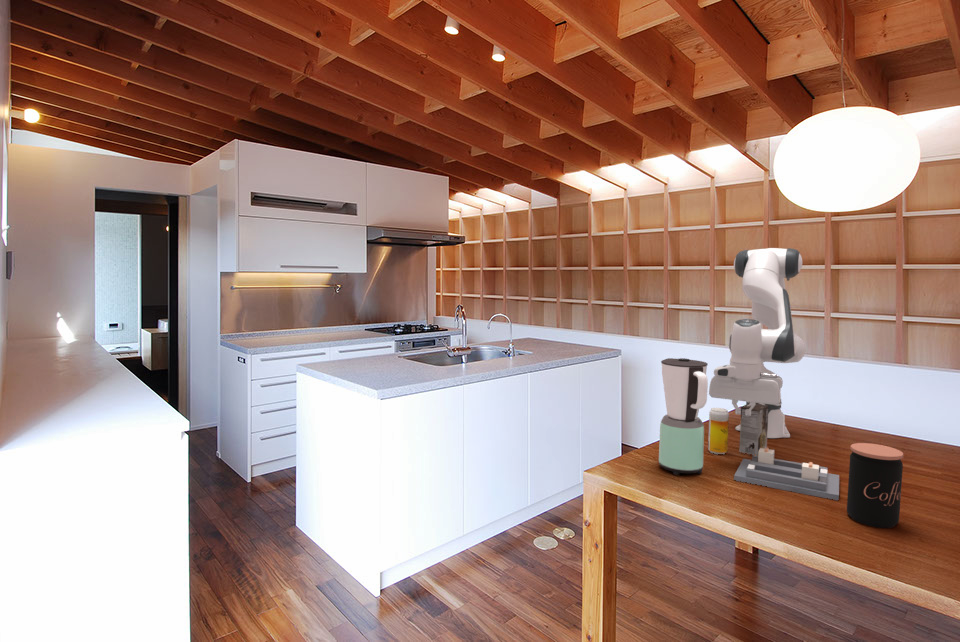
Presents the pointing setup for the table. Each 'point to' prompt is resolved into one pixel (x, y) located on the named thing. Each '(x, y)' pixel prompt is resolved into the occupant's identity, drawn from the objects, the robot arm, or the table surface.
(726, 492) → the table surface
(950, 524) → the table surface
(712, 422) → the beer can
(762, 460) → the tab
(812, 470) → the tab
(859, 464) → the coffee jar
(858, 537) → the table surface
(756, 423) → the coffee box
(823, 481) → the switch bank
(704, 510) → the table surface
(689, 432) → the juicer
